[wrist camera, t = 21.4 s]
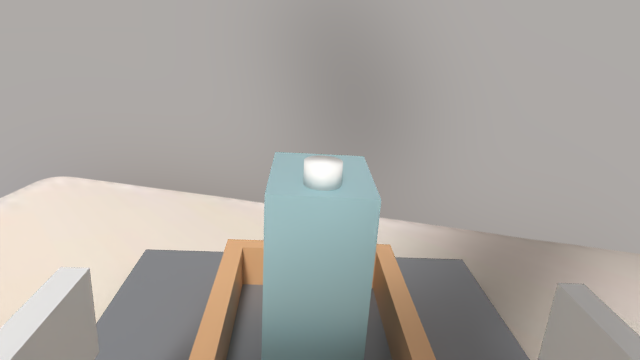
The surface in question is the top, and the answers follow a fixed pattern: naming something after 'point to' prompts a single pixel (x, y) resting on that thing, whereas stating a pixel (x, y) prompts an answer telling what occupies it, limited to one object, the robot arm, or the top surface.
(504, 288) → the top surface
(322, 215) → the block
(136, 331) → the plate
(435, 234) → the top surface
